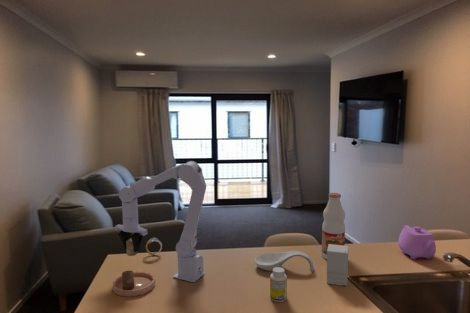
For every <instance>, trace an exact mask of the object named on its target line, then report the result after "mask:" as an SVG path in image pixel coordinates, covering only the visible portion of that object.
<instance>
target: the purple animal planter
mask: <svg viewBox="0 0 470 313" xmlns="http://www.w3.org/2000/svg"><path fill="white" fill-rule="evenodd" d="M398 247H399V249H400V250H401V253H402V254H405V255H409V258H410V259H411V260H417V259H418V258H423V259H427V260H430V259H431V257H434V256H435V254H436V251H437V249H436V248H437V246H436V242H435V237H434V235H433V233H432V232H430V231H428V230H427V229H425V228H422V227H420V226H418V225H417V226H412V227H411V226H409V225H403V228H402V229H401V232H400V234H399V237H398Z"/></svg>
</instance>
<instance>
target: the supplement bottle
mask: <svg viewBox="0 0 470 313" xmlns="http://www.w3.org/2000/svg"><path fill="white" fill-rule="evenodd" d="M271 272H272V273H271V274H270V275H269V276H270V277H269V278H270V279H269V280H270V281H269V283H270V284H269V292H270V293H269V295H270V296H269V297H270V299H271V300H272V301H274V302H277V303H281V302H284V301H286V300H287V298H288V296H287V295H288V293H287V292H288V289H287V288H288V285H287V284H288V283H287V282H288V276H287V274H286V273H285V268H283V267H282V266H280V267H275V268H273V271H271Z"/></svg>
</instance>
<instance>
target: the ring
mask: <svg viewBox="0 0 470 313" xmlns="http://www.w3.org/2000/svg"><path fill="white" fill-rule="evenodd" d="M153 242H157V243H158V244H159V248H160V249H159V250H158V251H157V252H151V251H150V250H149V249H148V246H149V245H150V244H151V243H153ZM162 250H163V244H162V242H161V241H160V240H159V238H157V237H152V238H150V239H149V240H148V241H147V242H146V244H145V251H146V253H147V254H148V255H149V256H150V255H151V256H153V257H154V256H156V255H159V254H160V253H161V252H162Z"/></svg>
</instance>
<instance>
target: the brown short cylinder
mask: <svg viewBox="0 0 470 313" xmlns="http://www.w3.org/2000/svg"><path fill="white" fill-rule="evenodd" d="M134 272H135V271H133V270H125V271H122V273H121V275H122V288H123V290H132V289H134Z"/></svg>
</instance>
